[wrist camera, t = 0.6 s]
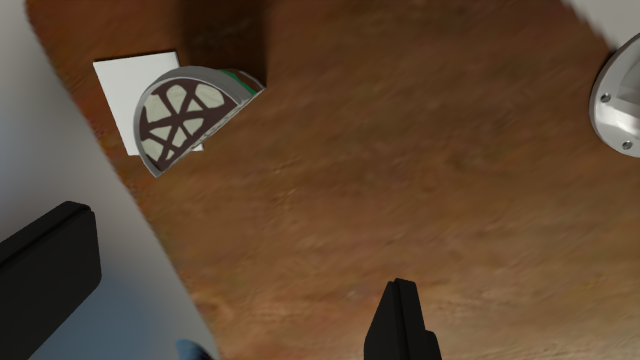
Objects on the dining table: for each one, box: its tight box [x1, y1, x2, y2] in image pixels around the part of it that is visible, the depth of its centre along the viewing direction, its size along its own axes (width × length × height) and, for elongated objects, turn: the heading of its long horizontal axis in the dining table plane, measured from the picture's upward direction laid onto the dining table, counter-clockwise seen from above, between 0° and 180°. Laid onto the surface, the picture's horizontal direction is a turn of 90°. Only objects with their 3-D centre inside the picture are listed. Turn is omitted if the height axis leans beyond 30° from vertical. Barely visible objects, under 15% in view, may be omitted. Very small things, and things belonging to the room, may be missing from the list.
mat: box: [93, 52, 204, 155], centre depth 39 cm, size 10×11×1 cm
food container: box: [133, 66, 266, 178], centre depth 33 cm, size 12×6×10 cm, turn 129°
